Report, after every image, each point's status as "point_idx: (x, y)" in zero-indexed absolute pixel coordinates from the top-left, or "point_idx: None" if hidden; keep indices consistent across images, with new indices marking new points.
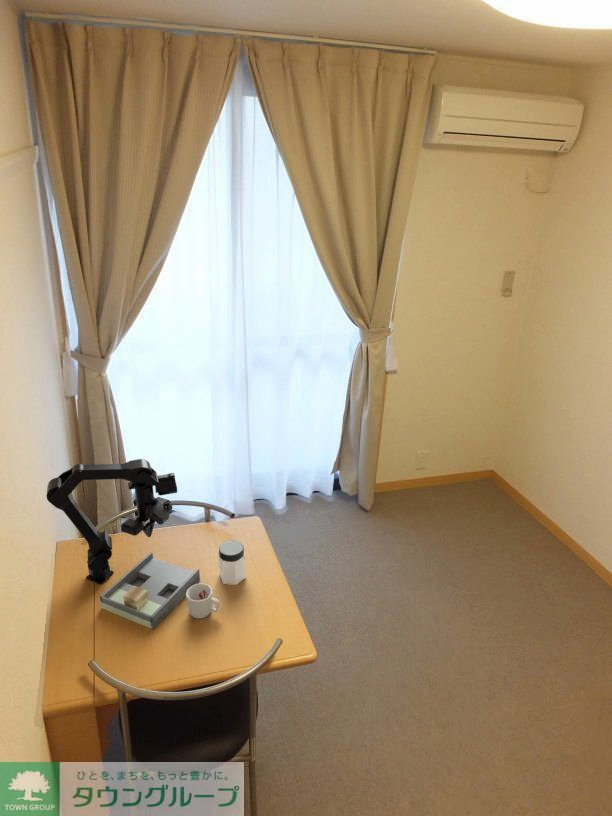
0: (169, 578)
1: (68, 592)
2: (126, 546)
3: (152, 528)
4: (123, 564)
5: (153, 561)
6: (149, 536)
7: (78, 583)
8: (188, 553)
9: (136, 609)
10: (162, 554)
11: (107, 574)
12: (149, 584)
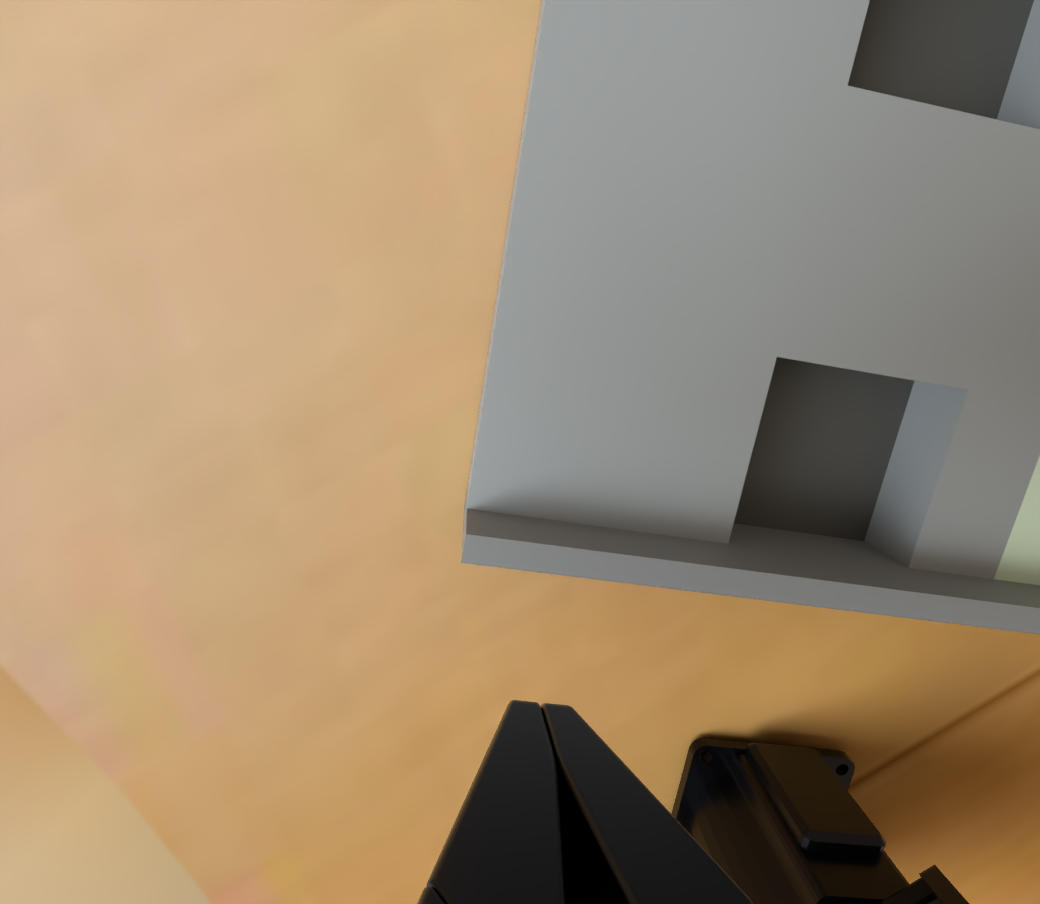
0: (770, 113)
1: None
2: (327, 841)
3: (495, 869)
4: None
5: (530, 466)
6: (584, 722)
7: None
8: (166, 182)
9: None
10: (304, 469)
11: (807, 773)
12: (903, 305)
